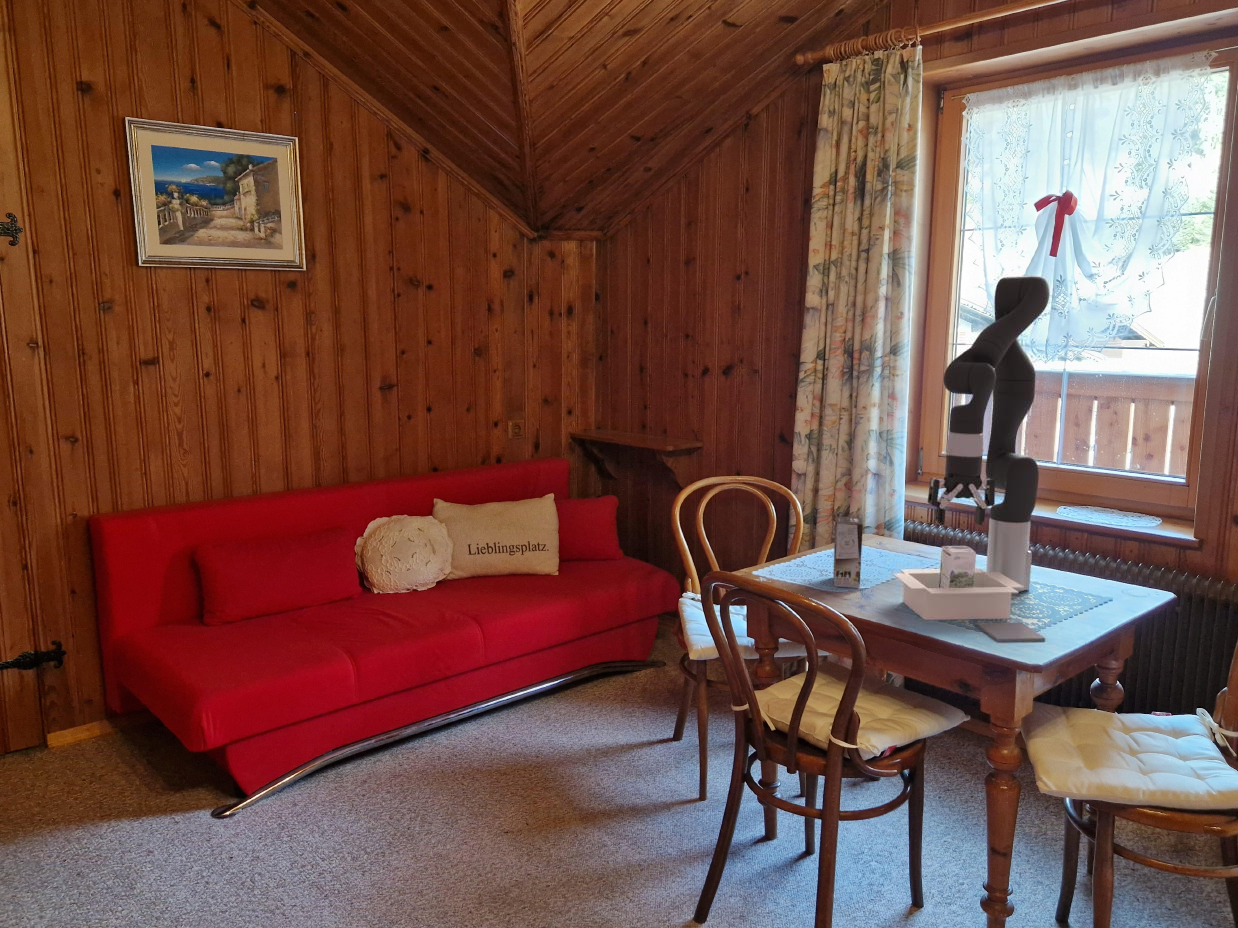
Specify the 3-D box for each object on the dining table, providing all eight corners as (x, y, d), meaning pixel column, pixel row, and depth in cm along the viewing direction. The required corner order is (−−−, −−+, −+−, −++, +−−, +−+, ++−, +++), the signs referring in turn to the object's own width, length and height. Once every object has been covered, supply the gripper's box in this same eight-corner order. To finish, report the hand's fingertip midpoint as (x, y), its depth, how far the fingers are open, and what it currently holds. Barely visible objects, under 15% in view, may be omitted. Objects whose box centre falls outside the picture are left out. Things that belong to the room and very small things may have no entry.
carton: (989, 596, 218) (991, 568, 217) (1029, 622, 199) (1032, 591, 198) (885, 598, 217) (887, 569, 215) (916, 624, 198) (917, 593, 196)
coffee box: (860, 588, 224) (863, 524, 222) (833, 586, 226) (836, 523, 223) (858, 578, 233) (861, 516, 231) (832, 577, 235) (835, 515, 232)
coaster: (1021, 624, 197) (1021, 622, 197) (1045, 640, 188) (1045, 637, 187) (976, 625, 197) (976, 622, 197) (997, 641, 187) (997, 638, 187)
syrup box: (961, 605, 211) (965, 544, 209) (972, 613, 205) (976, 551, 203) (937, 606, 211) (940, 544, 208) (947, 614, 205) (951, 551, 203)
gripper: (988, 450, 206) (983, 520, 209) (926, 450, 206) (921, 520, 208) (1003, 455, 199) (998, 528, 201) (939, 455, 198) (934, 528, 201)
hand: (959, 524), depth 205 cm, fingers open, 8 cm apart
